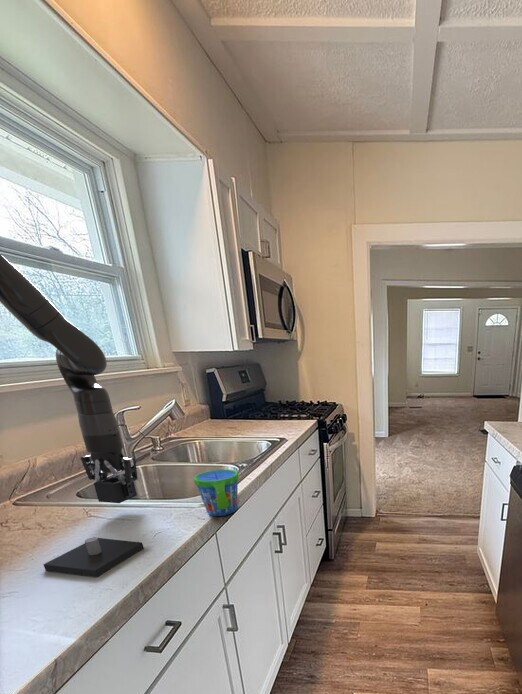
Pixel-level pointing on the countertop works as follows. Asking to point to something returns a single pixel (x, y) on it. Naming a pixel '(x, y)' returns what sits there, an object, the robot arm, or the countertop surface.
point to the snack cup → (218, 491)
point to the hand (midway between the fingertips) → (117, 496)
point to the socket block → (111, 490)
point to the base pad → (94, 557)
